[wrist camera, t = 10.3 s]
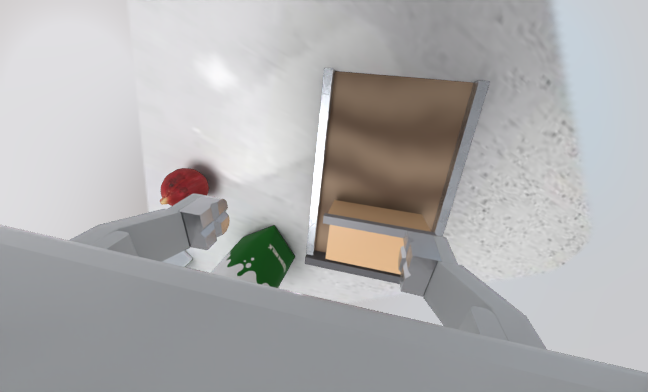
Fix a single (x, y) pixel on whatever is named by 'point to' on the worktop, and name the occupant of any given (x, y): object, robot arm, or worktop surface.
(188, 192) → the onion
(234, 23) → the worktop surface
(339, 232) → the cart
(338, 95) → the dock
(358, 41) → the worktop surface
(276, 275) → the milk carton
